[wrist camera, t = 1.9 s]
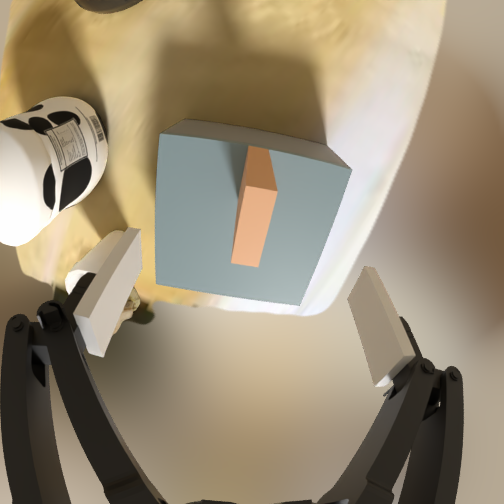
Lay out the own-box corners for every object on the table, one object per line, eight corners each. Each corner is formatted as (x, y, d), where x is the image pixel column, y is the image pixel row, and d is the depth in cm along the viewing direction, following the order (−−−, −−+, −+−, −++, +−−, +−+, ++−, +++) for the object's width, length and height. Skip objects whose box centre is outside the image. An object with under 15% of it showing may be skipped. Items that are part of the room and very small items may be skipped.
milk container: (28, 166, 36) (-39, 213, 21) (56, 78, 28) (-29, 98, 13) (94, 210, 41) (37, 276, 27) (134, 121, 34) (61, 157, 19)
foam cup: (155, 253, 47) (131, 306, 36) (123, 273, 49) (98, 323, 39) (120, 212, 42) (84, 259, 31) (90, 238, 45) (56, 284, 34)
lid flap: (162, 131, 25) (109, 167, 16) (349, 166, 28) (397, 220, 18) (157, 279, 37) (132, 349, 27) (298, 300, 39) (310, 373, 29)
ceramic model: (96, 266, 49) (75, 301, 40) (145, 290, 52) (130, 328, 44) (89, 306, 56) (72, 338, 47) (130, 326, 59) (118, 360, 51)
